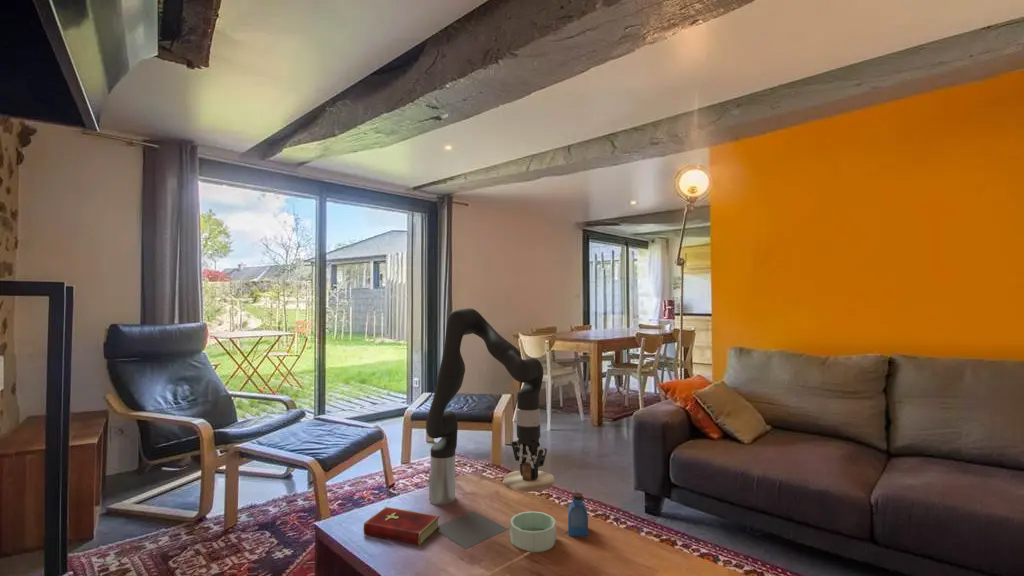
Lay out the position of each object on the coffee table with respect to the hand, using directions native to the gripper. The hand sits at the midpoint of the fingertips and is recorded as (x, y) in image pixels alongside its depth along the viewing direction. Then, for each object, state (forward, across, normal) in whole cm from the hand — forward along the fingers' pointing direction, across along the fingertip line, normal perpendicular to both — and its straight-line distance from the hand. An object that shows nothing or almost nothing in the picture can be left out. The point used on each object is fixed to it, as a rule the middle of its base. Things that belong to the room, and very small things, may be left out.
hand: (529, 477), depth 150 cm
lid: (+1, 0, 0) cm, 1 cm away
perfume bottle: (+20, +6, +16) cm, 27 cm away
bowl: (+20, 0, +1) cm, 20 cm away
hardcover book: (+19, -32, -26) cm, 46 cm away
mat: (+20, -18, -9) cm, 29 cm away
